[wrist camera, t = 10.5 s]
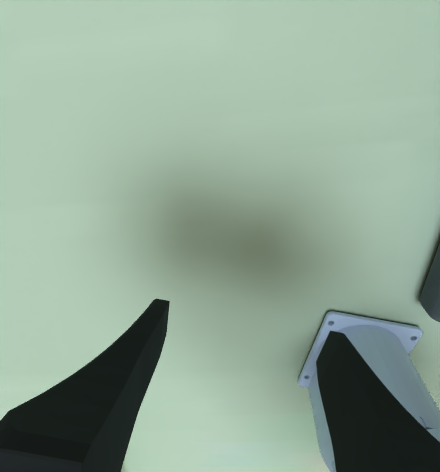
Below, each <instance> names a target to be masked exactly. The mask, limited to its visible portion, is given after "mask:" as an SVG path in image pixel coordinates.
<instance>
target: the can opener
mask: <svg viewBox="0 0 440 472" xmlns="http://www.w3.org/2000/svg"><path fill="white" fill-rule="evenodd" d="M420 302H421V305H422V306H423V308H424V309H425V311H426V312H427V313H428V315H429V316H430V317H431V318H432V319H434V320H436V321H438V322H440V244H439V246H438V249H437V252H436V255H435V258H434V260H433V263H432V266H431V268H430V271H429V274H428V277H427V279H426V282H425V285H424V288H423V290H422V293H421V296H420Z"/></svg>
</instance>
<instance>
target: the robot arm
mask: <svg viewBox="0 0 440 472" xmlns="http://www.w3.org/2000/svg"><path fill="white" fill-rule="evenodd" d="M169 302H170V301H166V300H160V299H155V300H153V302H152V303H151V304H150V305H149V307H148V308H147V309H146V310H145V311H144V313H143V314H142V315H141V316H140V317H139V318H138V319H137V320H136V321H135V322H134V323H133V325H132V326H131V327H130V328H129V329H128V330H127V331H126V332H125V333H124V334H123V335H121V336H120V337H119V338H118V339H117V340H116V341H115V342H114V343H113V344H112V345H111V346H109V347H108V348H107V349H106V350H105V351H104V352H102V353H101V354H100V355H99V356H97V357H96V358H95V359H94V360H92V361H91V362H90V363H88V364H87V365H85V366H84V367H83V368H81V369H80V370H78V371H77V372H76V373H74V374H73V375H71V376H70V377H68V378H67V379H65V380H63V381H62V382H60V383H58V384H57V385H55V386H54V387H52V388H50V389H49V390H47V391H45V392H44V393H42V394H40V395H38V396H36V397H34V398H33V399H31V400H29V401H27V402H25V403H23V404H21V405H19V406H17V407H16V408H14V409H12V410H10V411H8V413H7V414H6V415H5V416H4V417H3V418H2V419H1V421H0V472H121V468H122V465H123V461H124V458H125V454H126V451H127V448H128V444H129V441H130V437H131V434H132V431H133V427H134V424H135V421H136V417H137V414H138V411H139V409H140V406H141V403H142V401H143V398H144V396H145V393H146V391H147V388H148V386H149V383H150V381H151V378H152V376H153V373H154V371H155V368H156V366H157V363H158V360H159V358H160V355H161V352H162V348H163V344H164V341H165V337H166V332H167V322H168V312H169ZM329 321H332V322H329ZM422 334H423V332H422V330H421V329H420V328H419V327H417V326H411V325H406V324H400V323H395V322H389V321H384V320H378V319H373V318H367V317H362V316H356V315H351V314H345V313H340V312H334V311H331V312H328V313H327V314H326V316H325V319H324V321H323V323H322V326H321V328H320V330H319V333H318V335H317V337H316V339H315V342H314V344H313V346H312V349H311V351H310V353H309V356H308V358H307V360H306V363H305V365H304V367H303V370H302V372H301V374H300V377H299V379H298V384H299V386H301V387H305V388H308V389H309V394H310V400H311V405H312V411H313V416H314V422H315V427H316V433H317V438H318V444H319V449H320V452H321V455H322V457H323V460H324V462H325V463H326V465H327V467H328V468H329V470H330V471H331V472H440V411H439V409H438V407H437V405H436V403H435V402H434V400H433V398H432V396H431V395H430V393H429V391H428V389H427V387H426V386H425V384H424V382H423V380H422V378H421V377H420V375H419V373H418V371H417V370H416V368H415V366H414V364H413V362H412V361H411V359H410V357H409V354H410V352H411V351H412V349H413V348H414V346H415V345H416V343H417V342H418V340H419V339H420V337H421V336H422ZM412 336H413V337H412Z"/></svg>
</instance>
